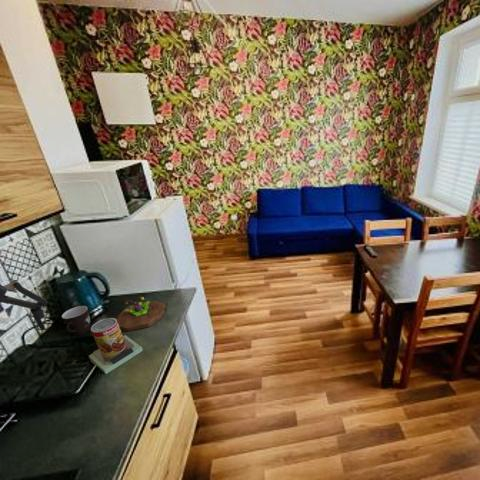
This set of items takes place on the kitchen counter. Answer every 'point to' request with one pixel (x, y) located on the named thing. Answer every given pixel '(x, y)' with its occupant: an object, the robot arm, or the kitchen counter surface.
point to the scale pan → (108, 359)
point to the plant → (140, 315)
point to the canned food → (108, 337)
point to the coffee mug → (77, 320)
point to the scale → (117, 357)
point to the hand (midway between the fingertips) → (9, 342)
